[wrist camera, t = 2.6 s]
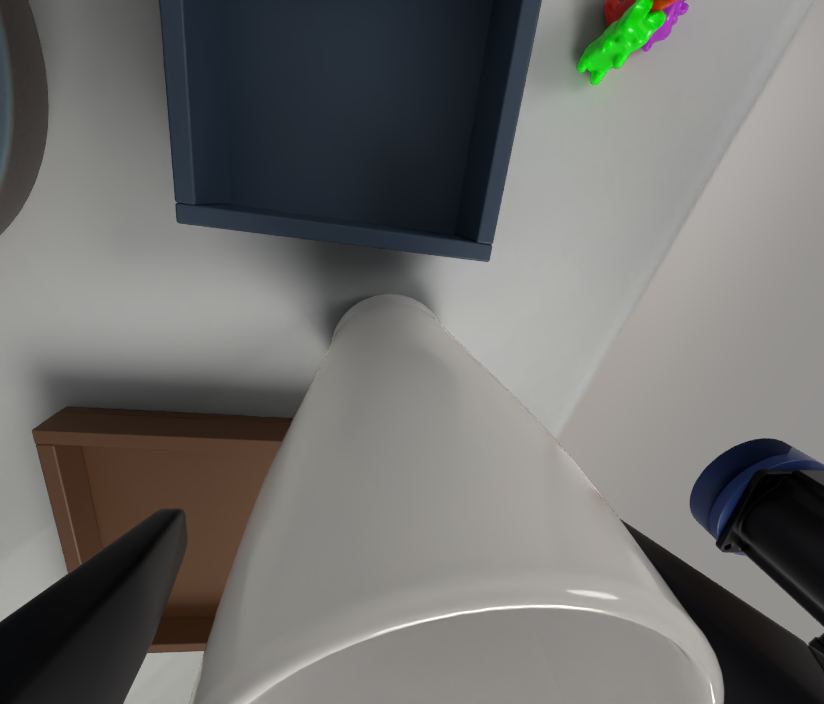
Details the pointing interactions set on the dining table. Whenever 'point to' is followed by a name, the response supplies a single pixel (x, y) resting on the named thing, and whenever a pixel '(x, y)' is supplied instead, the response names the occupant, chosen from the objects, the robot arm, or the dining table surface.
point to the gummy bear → (629, 32)
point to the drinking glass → (438, 550)
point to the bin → (347, 117)
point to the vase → (20, 107)
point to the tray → (159, 494)
